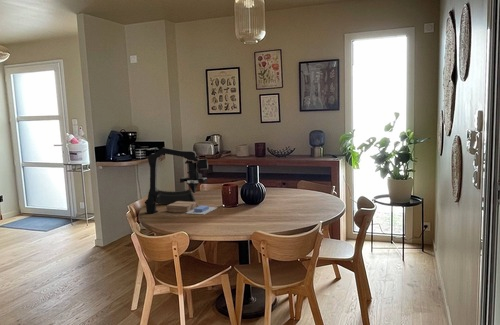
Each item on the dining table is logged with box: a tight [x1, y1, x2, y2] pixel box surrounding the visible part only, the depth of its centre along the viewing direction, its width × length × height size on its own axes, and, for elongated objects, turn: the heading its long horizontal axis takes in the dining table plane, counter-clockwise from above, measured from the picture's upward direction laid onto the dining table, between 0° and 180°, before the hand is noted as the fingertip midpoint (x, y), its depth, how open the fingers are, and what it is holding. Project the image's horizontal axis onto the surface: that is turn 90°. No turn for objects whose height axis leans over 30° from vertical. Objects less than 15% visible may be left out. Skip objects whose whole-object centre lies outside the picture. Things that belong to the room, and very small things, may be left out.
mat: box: [186, 206, 218, 215], centre depth 269 cm, size 18×14×1 cm
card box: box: [194, 205, 210, 212], centre depth 269 cm, size 9×6×2 cm, turn 157°
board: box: [166, 201, 199, 214], centre depth 275 cm, size 14×16×4 cm
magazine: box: [155, 188, 196, 205], centre depth 294 cm, size 17×3×30 cm
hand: (194, 192), depth 270 cm, fingers closed
